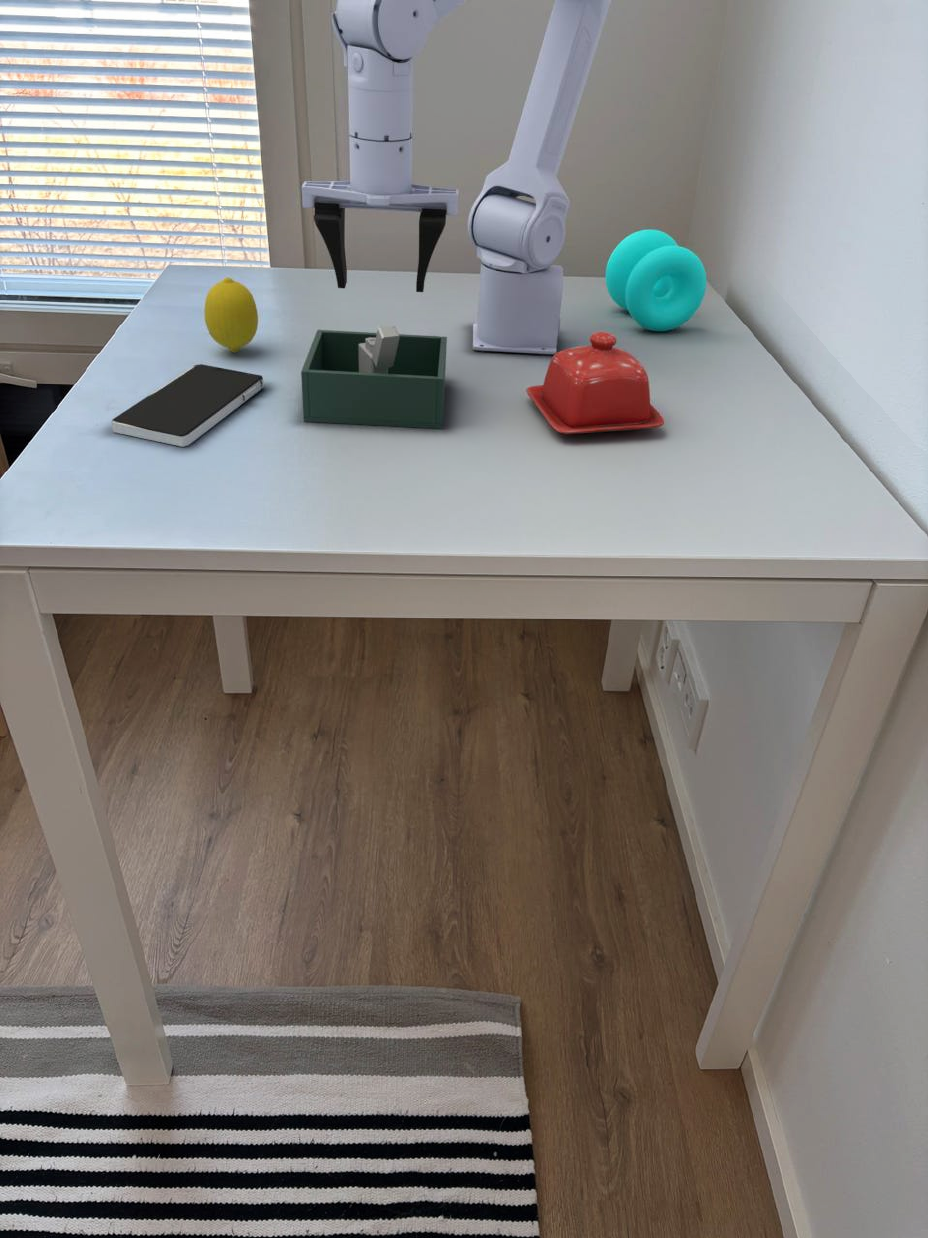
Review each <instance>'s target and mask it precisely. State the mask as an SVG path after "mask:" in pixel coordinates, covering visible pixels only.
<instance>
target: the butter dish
mask: <svg viewBox="0 0 928 1238" xmlns="http://www.w3.org/2000/svg"><path fill="white" fill-rule="evenodd" d="M589 342H590V343H591V345H584V346H575V347H570V348H566V349H563V350H559V351H557V352H556V354H553V356H552V357H551V359H550V361H549V364H548V368H547V370H546V374H545V377H544V380H543V384H540V385H532V386H528V387H527V388H526V390H525V391H526V394H527V395H528V397H529V398H530V400H531V401H532V402H533V404H534V405H535V406H536V407H537V409H538V410H539V411H540V412H541V414H542V415H543V416H544V418H545V420H546V422H548V424H549V426H551V427H552V428H553V429H554V431H556V432H558V433H560V434H563V435H564V434H565V435H572V434H590V433H591V434H593V433H605V432H619V431H633V430H641V429H654V428H659V427H662V426H664V425H665V423H666V421H665V419H664V417H663V416H662V415H661V414H660V412H659V411H658V410H657V409H656V408H655V407H654V406H653V405H652V404H651V393H650V392H651V390H650V381H649V375H648V373H647V370H646V369H645V368H644V366H643V365H642V364H641V362H640V361H639V360H638V359H637V358H635V356H633V355H632V354H630V353H629V352H628V351H626V350H624V349H621V348H619V347H615V344H617V338H616V337H615V335H613V334H612V333H609V332H605V331H597V332H594V333H592V334H591V335H590V337H589Z"/></svg>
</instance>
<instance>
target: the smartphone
mask: <svg viewBox="0 0 928 1238" xmlns="http://www.w3.org/2000/svg"><path fill="white" fill-rule="evenodd" d="M264 387H265V385H264V378H263V375H261V374H255V373H251V372H250V373H249V372H244V371H239V370H234V369H229V368H224V367H218V366H213V365H207V364H202V363H200V364H195V365H193V366H191V367H190V368H188V369H187V370H185V371H184V372H182V373H180V374H179V375H178V376H176V377H175V378H173V379H172V380H170V381H169V382H167V383H166V384H164V385H163V386H161V387H159V388H158V389H157V390H155V391H153V392H152V393H150V394H149V395H147V396H146V397H144V398H143V399H141V400H139V401H138V402H137V403H135V404H134V405H132V406H131V407H129V408H128V409H125V411H123V412H121V413H120V414H119V415H117V416H116V417H114V418H113V419H112V420H111V427H112V431H113V433H115V434H121V435H126V436H130V437H135V438H139V439H144V440H150V441H154V442H158V443H163V444H167V445H172V446H178V447H187V446H190V445H191V444H192V443H193V442H195V441H196V440H197V439H199V438H200V437H201V436H202V435H204V434H205V433H207V432H208V431H209V430H210V429H212V428H213V427H214V426H216V425H217V424H218V423H220V422H221V421H222V420H223V419H224V418H226V417H227V416H229V414H231V413H232V412H234V411H235V410H236V409H238V408H239V407H240V406H242V405H243V404H245V402H247V401H248V400H249V399H250V398H252V397H253V396H255V395H256V394H257V393H258V392H260V391H261V390H263V389H264Z"/></svg>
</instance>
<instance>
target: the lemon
mask: <svg viewBox="0 0 928 1238" xmlns="http://www.w3.org/2000/svg"><path fill="white" fill-rule="evenodd" d="M204 301H205V302H204V309H203V310H204V312H203V313H204V321H205V325H206V326H205V327H206V329H207V331H208V334H209V336H210V337H211V338H212V340H214V342H215V343H217V344H218V345H220V346H222V347H224V348H227V349H228V350H229V351H230V352H231V353H238V352H239V351H240V350H241V348H242V347H246V346H247V345H248V344H250V343H251V342H252V341H253V339H254V338H255V336H256V334H257V331H258V325H259V315H258V308H257V305H256V301H255V298H254V296H253V294H252V293H251V291H250V290H249V289H248V287H246V286H245V285H244V284H242V283H241V282H240V281H239V282H238V281H236V280H233V278H231V277H224V279H223V280H221V281H219V282H217V283H215V284H214V285H213V286H212V287H211V288H210V289H209V290H208V292H207V295H206V298H205V300H204Z"/></svg>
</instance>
